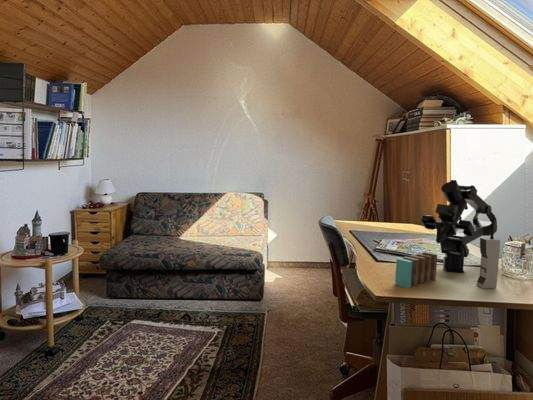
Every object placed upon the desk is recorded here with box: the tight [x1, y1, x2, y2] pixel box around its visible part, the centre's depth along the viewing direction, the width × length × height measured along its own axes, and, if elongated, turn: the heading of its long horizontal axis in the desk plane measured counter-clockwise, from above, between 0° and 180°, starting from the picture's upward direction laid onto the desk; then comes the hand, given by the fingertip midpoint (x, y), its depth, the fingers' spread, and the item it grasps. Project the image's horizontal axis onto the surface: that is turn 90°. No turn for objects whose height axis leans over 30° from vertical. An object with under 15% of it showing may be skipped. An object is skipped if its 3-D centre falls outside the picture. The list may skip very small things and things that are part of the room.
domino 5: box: [421, 251, 438, 281], centre depth 155 cm, size 2×5×9 cm, turn 39°
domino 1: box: [394, 257, 412, 289], centre depth 145 cm, size 2×5×9 cm, turn 39°
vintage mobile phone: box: [475, 214, 501, 289], centre depth 145 cm, size 4×5×25 cm
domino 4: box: [415, 253, 431, 283], centre depth 152 cm, size 2×5×9 cm, turn 39°
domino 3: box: [409, 254, 425, 285], centre depth 150 cm, size 2×5×9 cm, turn 39°
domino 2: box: [402, 256, 419, 287], centre depth 147 cm, size 2×5×9 cm, turn 39°
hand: (437, 242), depth 157 cm, fingers closed
